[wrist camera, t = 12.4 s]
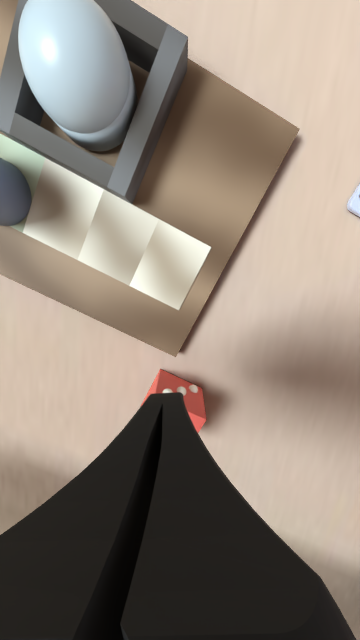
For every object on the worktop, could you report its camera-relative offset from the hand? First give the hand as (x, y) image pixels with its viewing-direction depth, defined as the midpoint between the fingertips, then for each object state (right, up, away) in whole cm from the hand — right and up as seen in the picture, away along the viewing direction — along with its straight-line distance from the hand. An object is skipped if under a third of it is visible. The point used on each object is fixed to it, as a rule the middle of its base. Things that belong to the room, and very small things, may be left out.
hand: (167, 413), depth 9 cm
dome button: (-4, +17, +4) cm, 18 cm away
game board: (-6, +14, +6) cm, 16 cm away
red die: (0, -3, +10) cm, 11 cm away
